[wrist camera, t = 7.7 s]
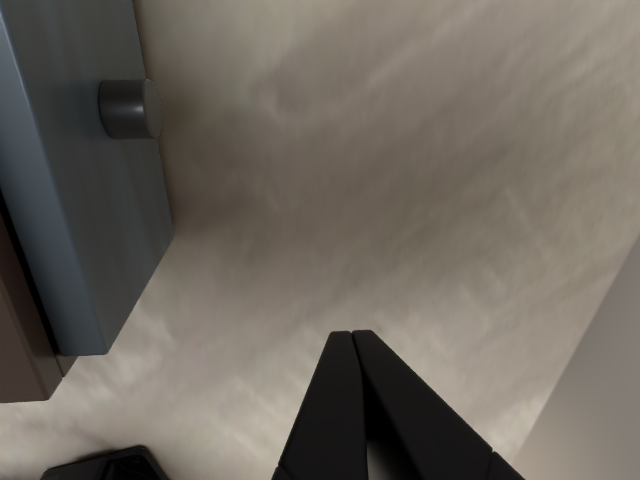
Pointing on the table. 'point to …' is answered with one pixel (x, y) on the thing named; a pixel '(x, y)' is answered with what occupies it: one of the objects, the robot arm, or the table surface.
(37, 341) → the cabinet
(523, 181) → the table surface
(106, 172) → the drawer
